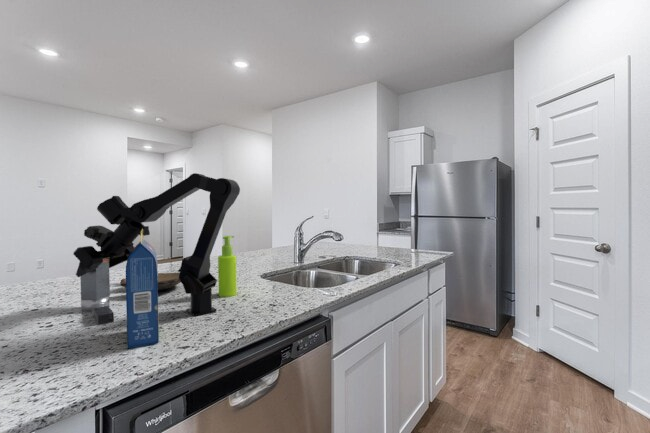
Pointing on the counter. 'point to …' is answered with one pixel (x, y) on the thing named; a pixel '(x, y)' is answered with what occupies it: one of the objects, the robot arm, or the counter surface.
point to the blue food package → (142, 296)
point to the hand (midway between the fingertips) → (90, 272)
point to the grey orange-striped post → (96, 282)
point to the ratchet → (99, 310)
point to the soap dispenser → (227, 270)
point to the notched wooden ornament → (162, 280)
